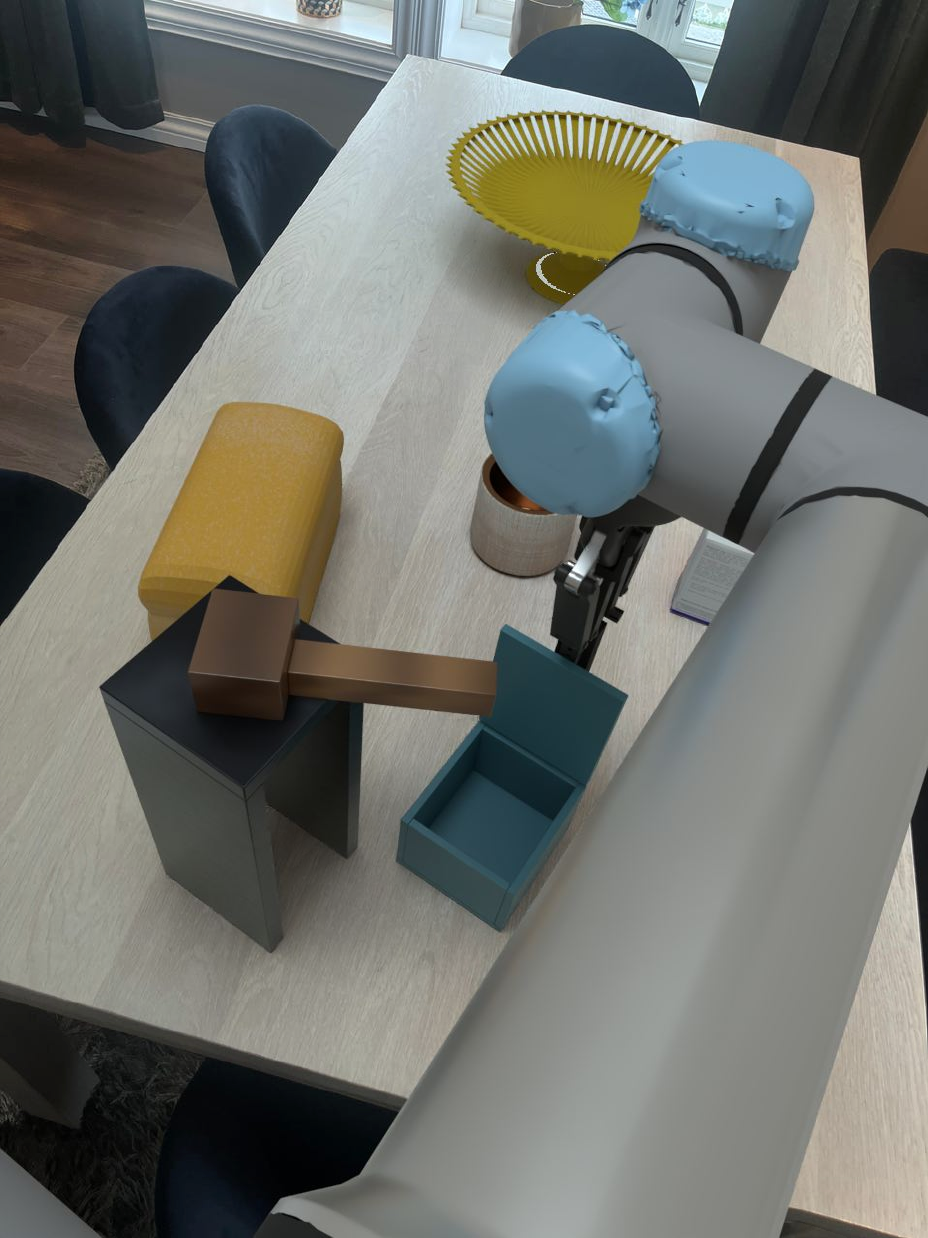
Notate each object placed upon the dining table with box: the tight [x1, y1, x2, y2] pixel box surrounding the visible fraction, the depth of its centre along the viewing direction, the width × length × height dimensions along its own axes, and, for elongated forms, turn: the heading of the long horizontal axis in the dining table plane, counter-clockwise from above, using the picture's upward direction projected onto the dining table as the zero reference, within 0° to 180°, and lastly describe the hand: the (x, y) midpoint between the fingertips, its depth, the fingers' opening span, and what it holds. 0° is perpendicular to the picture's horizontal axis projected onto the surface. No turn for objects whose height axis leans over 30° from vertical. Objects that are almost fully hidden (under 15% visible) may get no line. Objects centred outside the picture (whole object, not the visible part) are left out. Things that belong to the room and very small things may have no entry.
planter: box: [469, 452, 578, 577], centre depth 98 cm, size 11×11×10 cm
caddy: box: [395, 719, 588, 933], centre depth 76 cm, size 11×10×8 cm
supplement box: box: [669, 528, 754, 627], centre depth 94 cm, size 6×6×12 cm
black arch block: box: [98, 575, 365, 954], centre depth 66 cm, size 11×11×27 cm
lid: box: [478, 623, 629, 786], centre depth 71 cm, size 12×10×1 cm
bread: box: [137, 401, 345, 642], centre depth 88 cm, size 24×13×15 cm, turn 173°
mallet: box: [188, 589, 498, 721], centre depth 54 cm, size 17×6×4 cm, turn 86°
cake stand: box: [445, 109, 685, 306], centre depth 129 cm, size 40×40×15 cm
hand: (568, 671), depth 71 cm, fingers closed
